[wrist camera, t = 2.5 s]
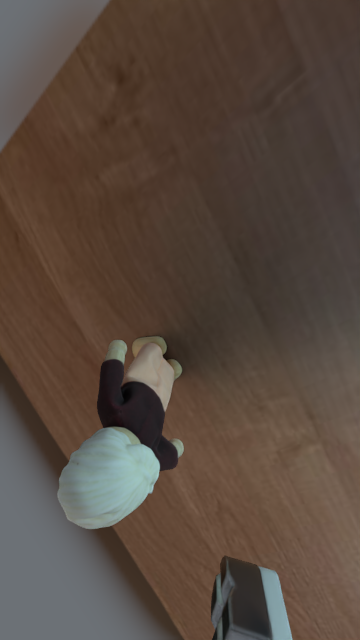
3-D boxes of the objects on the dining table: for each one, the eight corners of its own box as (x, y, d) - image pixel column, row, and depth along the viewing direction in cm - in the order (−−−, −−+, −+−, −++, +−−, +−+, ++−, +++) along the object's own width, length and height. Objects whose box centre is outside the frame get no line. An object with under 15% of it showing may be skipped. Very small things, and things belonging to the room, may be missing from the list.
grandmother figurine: (111, 344, 21) (-35, 461, 8) (146, 314, 20) (43, 393, 7) (173, 414, 21) (125, 619, 9) (209, 387, 20) (213, 574, 8)
